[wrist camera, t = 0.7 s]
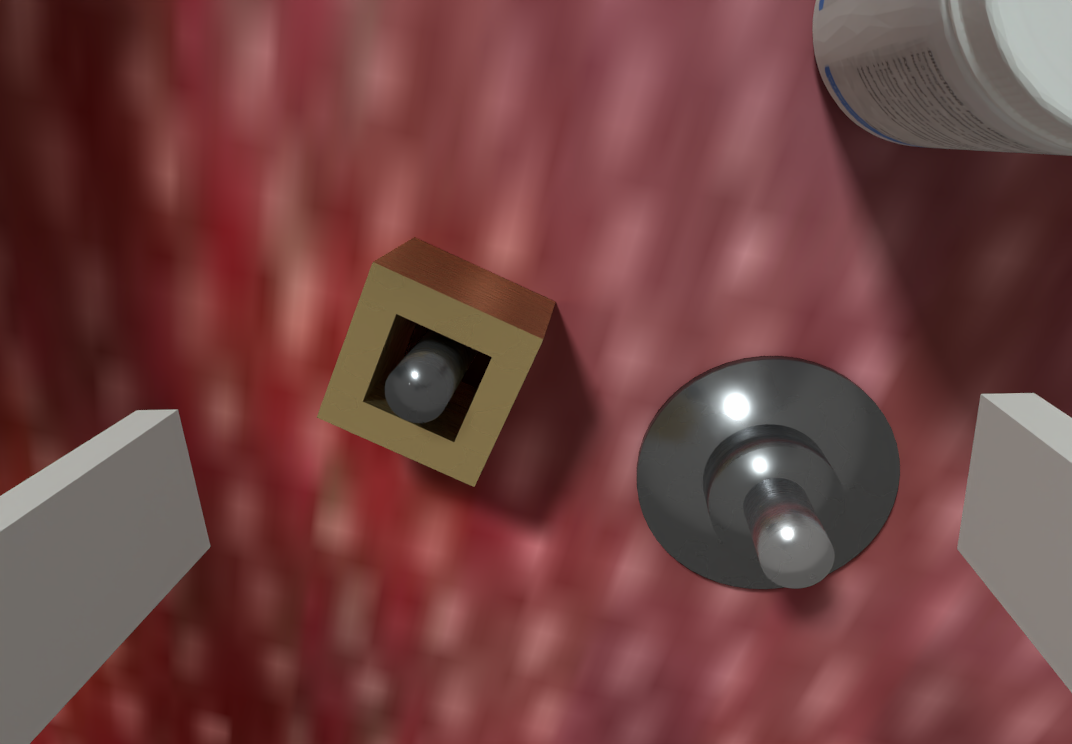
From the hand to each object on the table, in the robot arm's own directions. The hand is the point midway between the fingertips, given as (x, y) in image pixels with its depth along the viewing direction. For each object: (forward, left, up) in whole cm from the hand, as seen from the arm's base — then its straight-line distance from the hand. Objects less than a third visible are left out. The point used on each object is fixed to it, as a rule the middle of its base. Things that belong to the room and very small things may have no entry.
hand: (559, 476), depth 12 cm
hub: (+12, -6, -21) cm, 25 cm away
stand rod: (-4, -6, -21) cm, 23 cm away
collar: (-4, -6, -21) cm, 23 cm away
